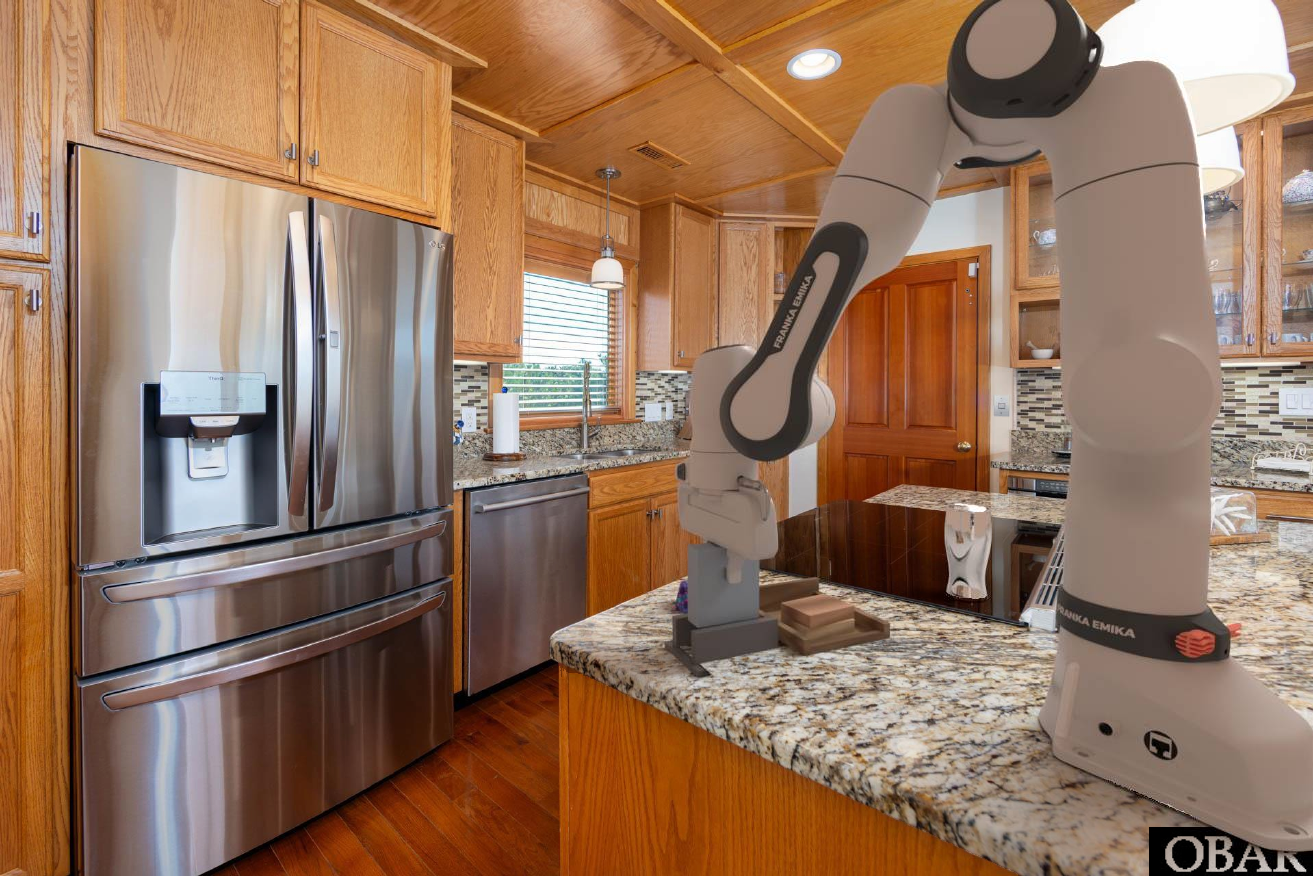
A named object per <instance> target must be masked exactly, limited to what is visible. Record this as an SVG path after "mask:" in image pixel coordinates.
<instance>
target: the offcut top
mask: <svg viewBox="0 0 1313 876" xmlns="http://www.w3.org/2000/svg"><path fill="white" fill-rule="evenodd" d="M826 594H827V593H825V594H820V595H815V596H811V597H806V598H801V599H797V600H792V601H787V602H783V603H781V616H783V617H786V618H788V619H790V620H792V621H794V622H796V623H798V624H800V625H802V626H805V627H807V628H809V629H813V628H817V627H821V626H825V625H829V624H833V623H837V622H841V621H845V620H850V619H854V607H855V604H851V603H849V602H846V601H844V600H841V599H838V598H836V597H834V596H831V595H829V596H828V594H827V595H826Z"/></svg>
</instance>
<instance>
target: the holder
mask: <svg viewBox="0 0 1313 876" xmlns="http://www.w3.org/2000/svg"><path fill="white" fill-rule="evenodd" d="M671 621H672V624H671V625H672V632H671V633H672V640H668V641H667V640H666V641H664V649H666V651H668V652H669V653H670V654H671V655H672V656H673V657H674V658H676V660H678V661H679V662H680V663H681V664H682V665H683V666H684V667H686V669H687V670H689V671H690V672H691V673H692V674H693V675H694V676H695V677H697V679H699V678H704V677H709V676H713V674H712V673H711V672H710V671H709V670H708V669H706V668H705V667H704V666H703V665H702V664H706V663H710V662H715V661H719V660H720V661H721V660H725V659H729V658H730V659H731V658H735V657H739V656H745V655H749V654H753V653H758V652H759V653H760V652H765V651H769V650H775V649H778V648H779V640H778V619H777V618H776V617H774V616H771V617H765V618H759V619H755V618H753V619H748V620H742V621H736V622H730V623H725V624H719V625H713V626H707V627H702V628H697V627H696V626H695V625H694V624H692V623H691V622H690V621H688V613H687V614H684V613H682V614H676V615H672V620H671ZM690 645H691V655H690V654H689V653H688V652H686V651H685V650H684V649H683V648H682V647H686V646H690Z"/></svg>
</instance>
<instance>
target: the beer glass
mask: <svg viewBox="0 0 1313 876" xmlns="http://www.w3.org/2000/svg"><path fill="white" fill-rule="evenodd" d="M991 510H992V508H991V507H990V506H989V507H988V506H986V505H980V504H974V503H973V504H972V503H951V504H948V505H947V504H946V510H945V520H944V521H945V522H944V545H945V550H946V557H947V562H948V572H949V575H948V576H949V577H948V583H947V586H946V591H945V592H947V593H948V594H950V595H952V596H956V597H959V598H972V599H979V598H985V597H986V596H987V597H988V593H987V589H986V570H987V565H988V562H989V561H988V560H989V556H990V553H991V545H992V538H993V535H992V534H993V529H992V528H993V526H992V522H993V521H992V511H991Z"/></svg>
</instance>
